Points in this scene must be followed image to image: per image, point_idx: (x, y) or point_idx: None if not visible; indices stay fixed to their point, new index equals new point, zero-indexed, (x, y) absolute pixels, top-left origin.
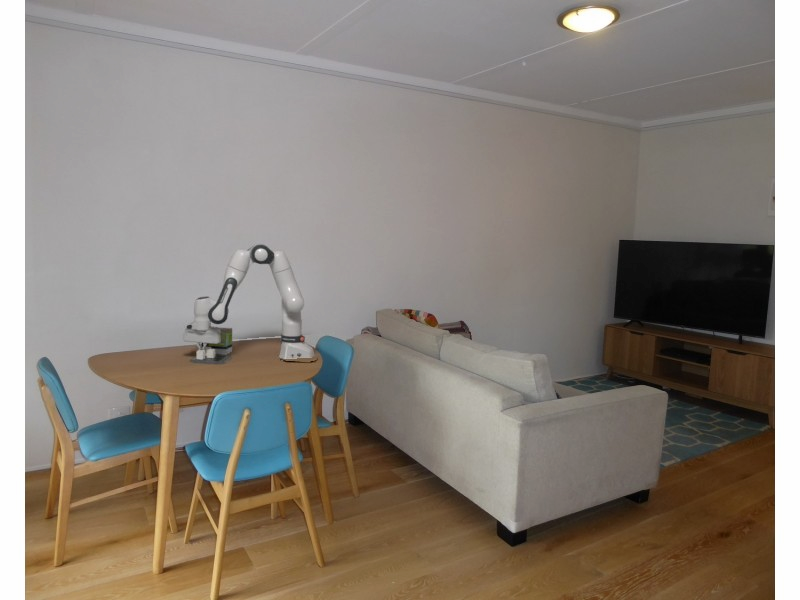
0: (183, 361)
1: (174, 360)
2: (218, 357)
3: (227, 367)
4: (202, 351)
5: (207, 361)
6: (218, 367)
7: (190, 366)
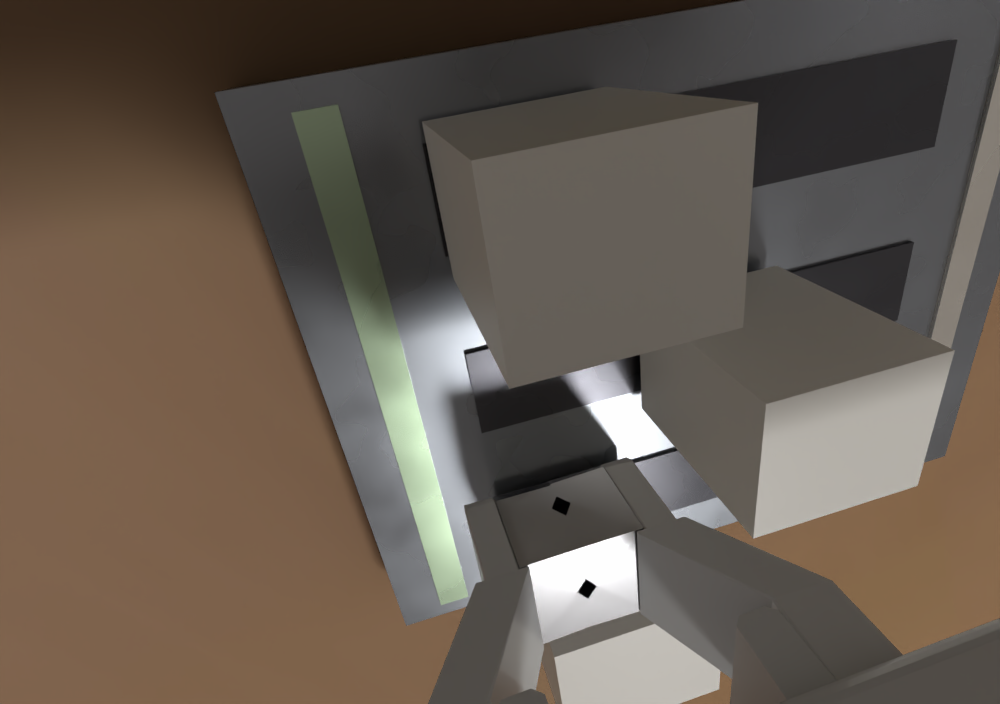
0: (245, 592)
1: (23, 632)
2: (830, 222)
3: (978, 499)
4: (708, 690)
5: (711, 520)
6: (879, 550)
7: (544, 689)
